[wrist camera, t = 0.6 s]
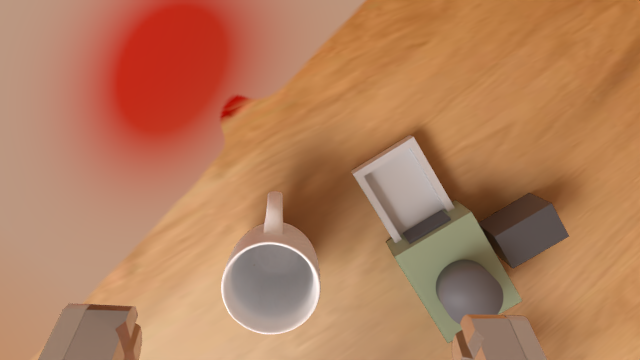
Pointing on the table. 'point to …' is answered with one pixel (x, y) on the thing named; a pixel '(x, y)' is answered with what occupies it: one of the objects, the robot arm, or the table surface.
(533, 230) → the tall grey rectangular block
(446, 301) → the green box with dome
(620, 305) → the table surface
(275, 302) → the mug
